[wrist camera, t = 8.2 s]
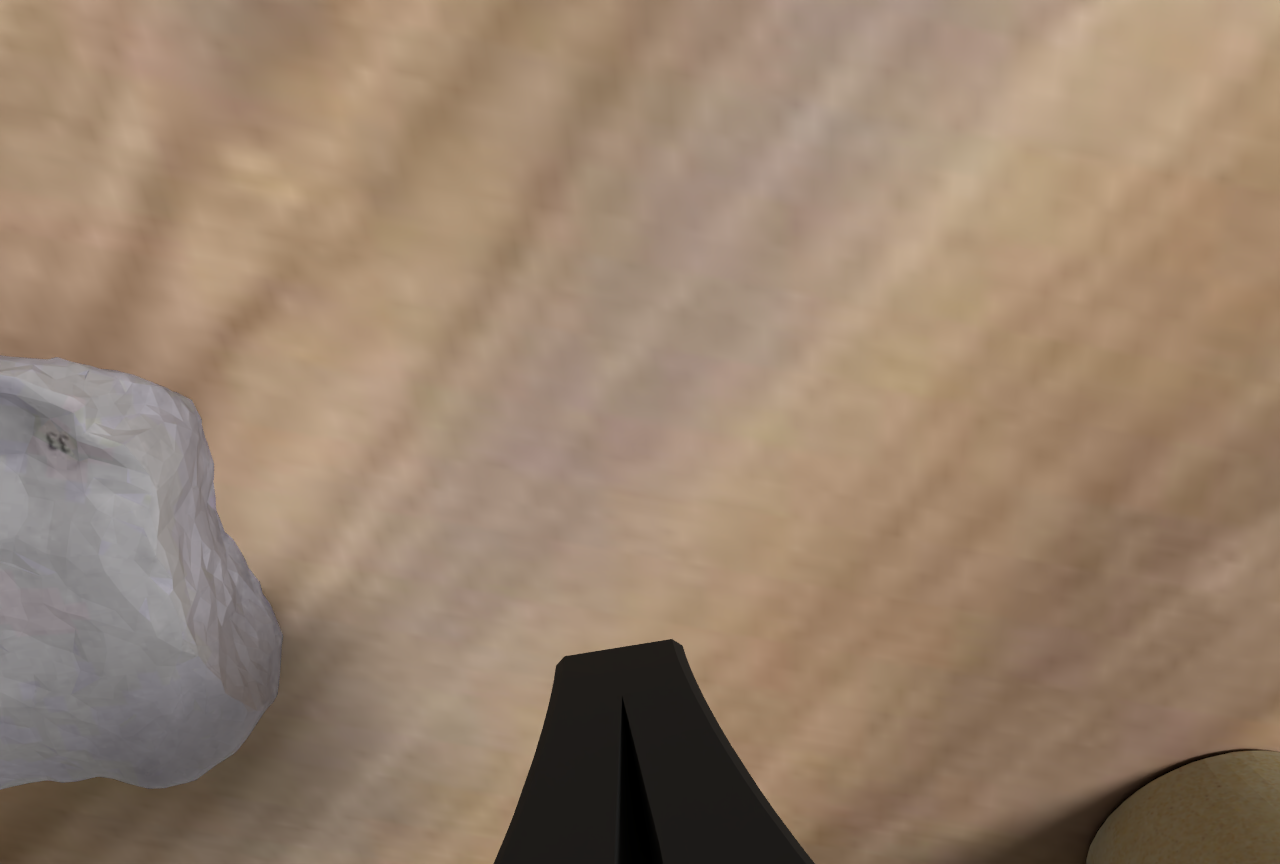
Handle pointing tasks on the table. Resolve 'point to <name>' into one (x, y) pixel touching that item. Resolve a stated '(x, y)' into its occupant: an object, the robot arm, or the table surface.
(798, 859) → the robot arm
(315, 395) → the table surface
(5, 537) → the stone block
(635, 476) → the table surface
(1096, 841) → the plant pot
